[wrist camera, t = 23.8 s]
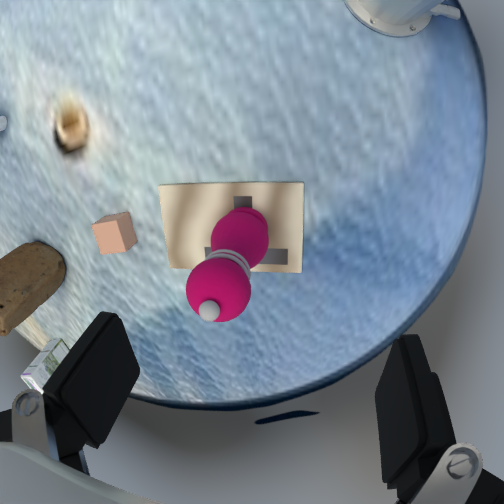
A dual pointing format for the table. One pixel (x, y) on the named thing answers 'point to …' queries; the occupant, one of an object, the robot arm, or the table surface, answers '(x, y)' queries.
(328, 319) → the table surface
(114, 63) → the table surface
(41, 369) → the syrup box
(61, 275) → the block
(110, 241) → the block
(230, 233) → the pepper mill
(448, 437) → the robot arm
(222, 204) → the board
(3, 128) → the strainer
